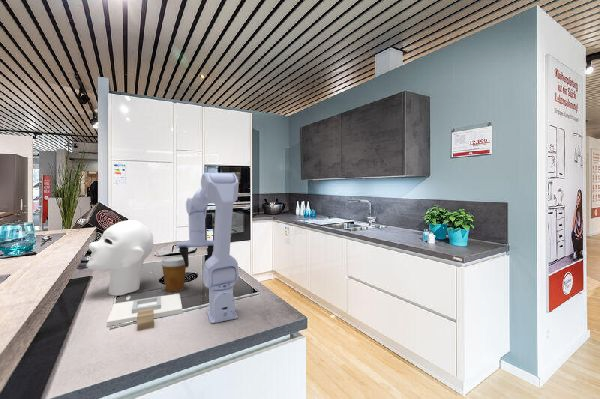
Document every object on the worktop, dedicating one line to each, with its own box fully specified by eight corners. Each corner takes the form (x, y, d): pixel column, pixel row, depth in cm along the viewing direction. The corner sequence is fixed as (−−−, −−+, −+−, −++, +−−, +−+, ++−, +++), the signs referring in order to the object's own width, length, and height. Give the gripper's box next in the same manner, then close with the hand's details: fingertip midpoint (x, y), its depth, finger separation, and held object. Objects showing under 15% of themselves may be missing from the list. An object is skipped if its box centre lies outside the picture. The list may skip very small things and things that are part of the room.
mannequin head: (137, 306, 107) (175, 236, 116) (69, 289, 93) (118, 210, 101) (124, 293, 119) (159, 231, 128) (62, 276, 105) (106, 207, 114)
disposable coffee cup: (193, 286, 116) (192, 256, 115) (175, 294, 107) (175, 262, 106) (174, 283, 119) (173, 254, 118) (155, 291, 110) (154, 260, 109)
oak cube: (153, 327, 83) (153, 314, 82) (137, 330, 81) (137, 316, 81) (153, 321, 86) (153, 308, 86) (138, 324, 85) (138, 311, 84)
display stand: (182, 313, 92) (182, 304, 91) (106, 327, 83) (106, 317, 83) (179, 297, 104) (179, 290, 104) (113, 308, 95) (113, 300, 95)
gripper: (218, 228, 114) (218, 262, 114) (178, 229, 111) (179, 264, 112) (216, 230, 107) (217, 267, 107) (174, 232, 104) (175, 269, 105)
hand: (198, 266), depth 109 cm, fingers open, 7 cm apart
